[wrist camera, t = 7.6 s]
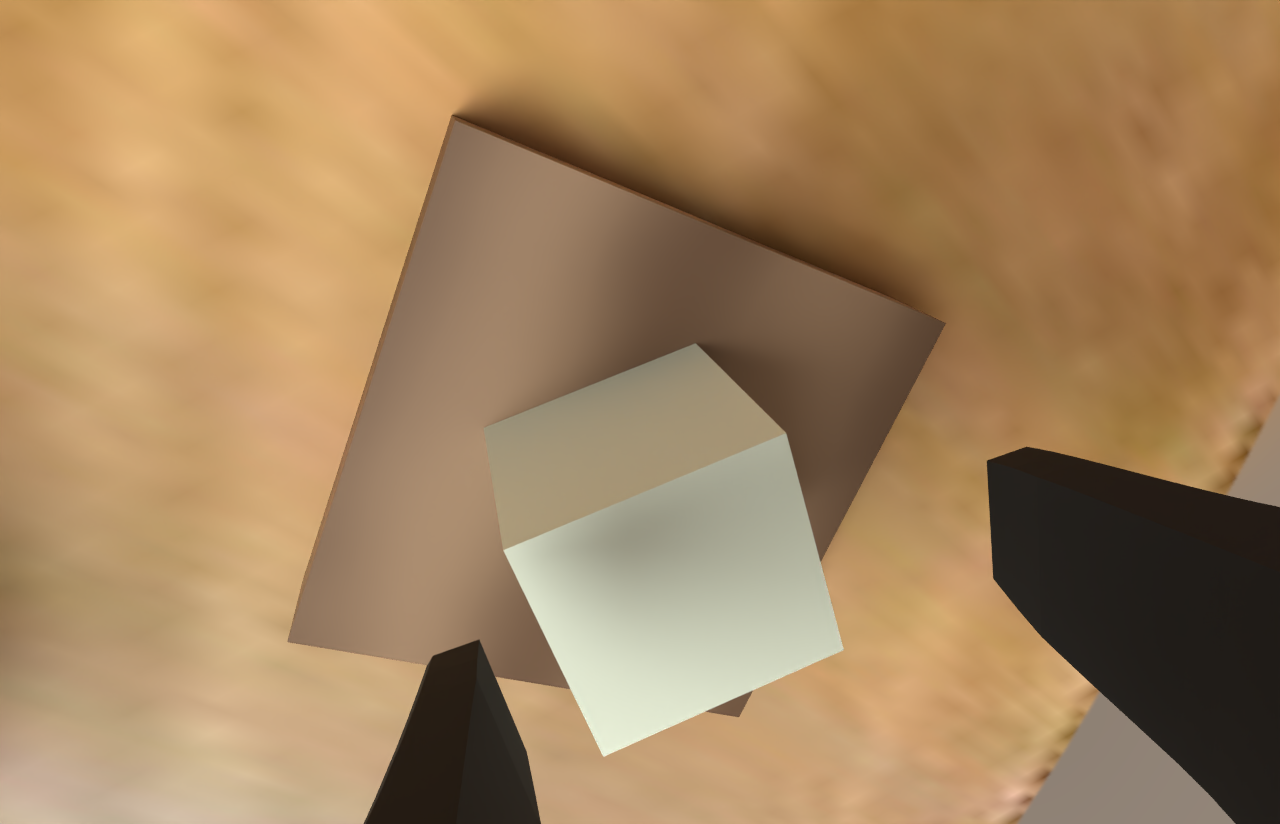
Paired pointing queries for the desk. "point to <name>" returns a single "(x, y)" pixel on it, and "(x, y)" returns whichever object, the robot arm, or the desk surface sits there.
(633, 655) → the white block
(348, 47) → the desk surface
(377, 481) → the walnut box
